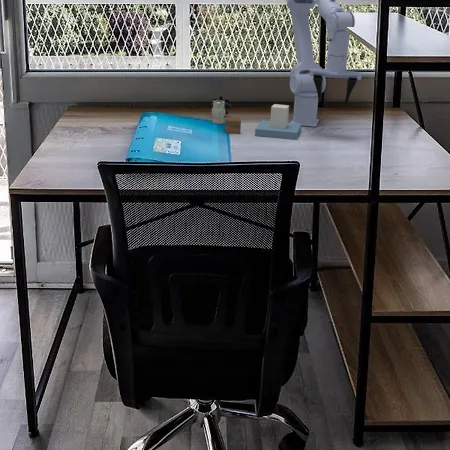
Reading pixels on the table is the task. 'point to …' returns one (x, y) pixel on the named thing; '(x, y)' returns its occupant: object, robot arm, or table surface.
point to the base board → (278, 130)
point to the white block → (279, 116)
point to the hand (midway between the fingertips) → (332, 102)
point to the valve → (219, 109)
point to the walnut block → (232, 125)
